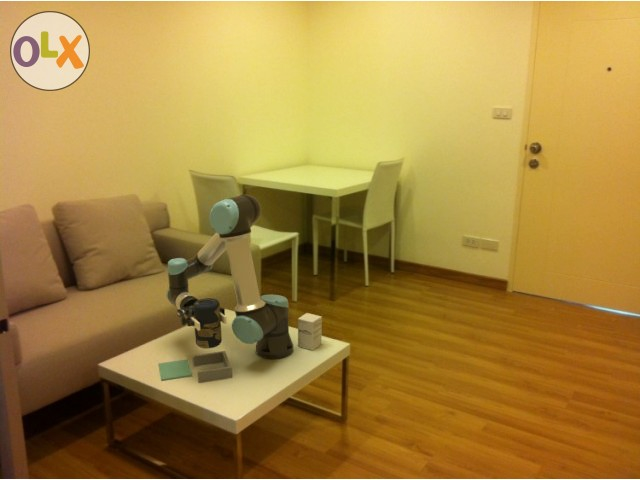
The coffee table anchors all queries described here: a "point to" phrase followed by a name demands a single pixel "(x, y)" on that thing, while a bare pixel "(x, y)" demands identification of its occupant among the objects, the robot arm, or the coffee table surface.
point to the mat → (175, 370)
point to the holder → (213, 373)
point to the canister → (208, 323)
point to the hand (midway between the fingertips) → (212, 323)
